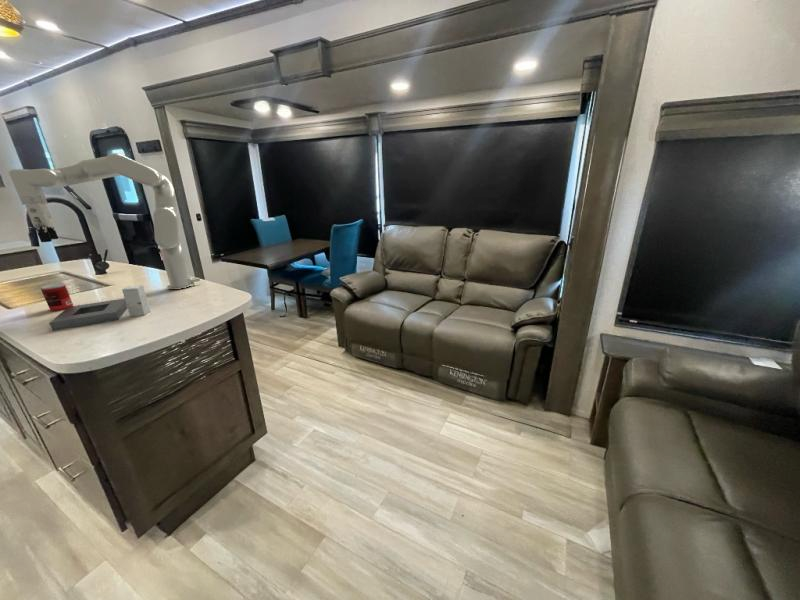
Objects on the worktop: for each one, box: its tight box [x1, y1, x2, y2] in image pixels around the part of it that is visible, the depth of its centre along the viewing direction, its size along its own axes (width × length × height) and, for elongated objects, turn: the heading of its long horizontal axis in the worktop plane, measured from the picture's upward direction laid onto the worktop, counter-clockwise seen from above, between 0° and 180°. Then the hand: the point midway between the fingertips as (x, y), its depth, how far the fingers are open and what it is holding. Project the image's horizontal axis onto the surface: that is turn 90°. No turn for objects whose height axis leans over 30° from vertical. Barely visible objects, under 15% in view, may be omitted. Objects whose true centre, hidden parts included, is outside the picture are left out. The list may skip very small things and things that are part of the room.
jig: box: [48, 298, 128, 332], centre depth 133 cm, size 20×20×4 cm
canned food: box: [40, 282, 74, 312], centre depth 144 cm, size 8×8×11 cm
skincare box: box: [121, 285, 151, 317], centre depth 134 cm, size 6×4×12 cm
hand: (50, 240), depth 141 cm, fingers open, 9 cm apart
